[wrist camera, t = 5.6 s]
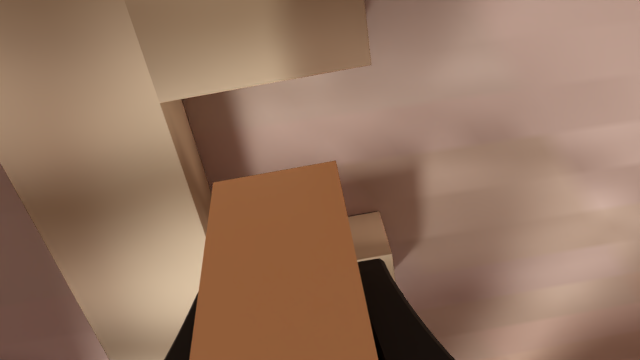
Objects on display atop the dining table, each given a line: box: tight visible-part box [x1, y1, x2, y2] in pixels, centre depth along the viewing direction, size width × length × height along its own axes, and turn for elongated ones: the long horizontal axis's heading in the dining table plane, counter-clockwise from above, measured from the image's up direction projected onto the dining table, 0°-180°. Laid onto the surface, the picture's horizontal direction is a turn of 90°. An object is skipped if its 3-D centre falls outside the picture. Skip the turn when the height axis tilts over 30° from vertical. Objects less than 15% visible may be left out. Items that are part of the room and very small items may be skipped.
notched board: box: [0, 0, 395, 360], centre depth 19 cm, size 14×11×2 cm
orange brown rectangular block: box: [189, 161, 378, 360], centre depth 12 cm, size 5×3×7 cm, turn 9°
